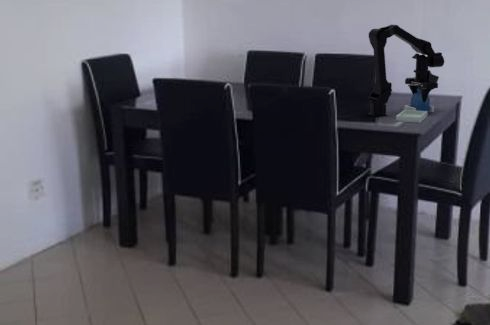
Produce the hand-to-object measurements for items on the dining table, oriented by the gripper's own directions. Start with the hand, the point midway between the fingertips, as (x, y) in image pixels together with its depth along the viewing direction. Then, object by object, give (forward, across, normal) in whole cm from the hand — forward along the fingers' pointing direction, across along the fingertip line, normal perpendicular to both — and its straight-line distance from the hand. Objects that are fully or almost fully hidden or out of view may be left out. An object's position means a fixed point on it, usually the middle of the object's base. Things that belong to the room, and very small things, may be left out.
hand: (420, 101), depth 309 cm
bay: (+5, 0, 0) cm, 5 cm away
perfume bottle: (+5, 0, 0) cm, 5 cm away
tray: (+5, -13, +13) cm, 19 cm away
